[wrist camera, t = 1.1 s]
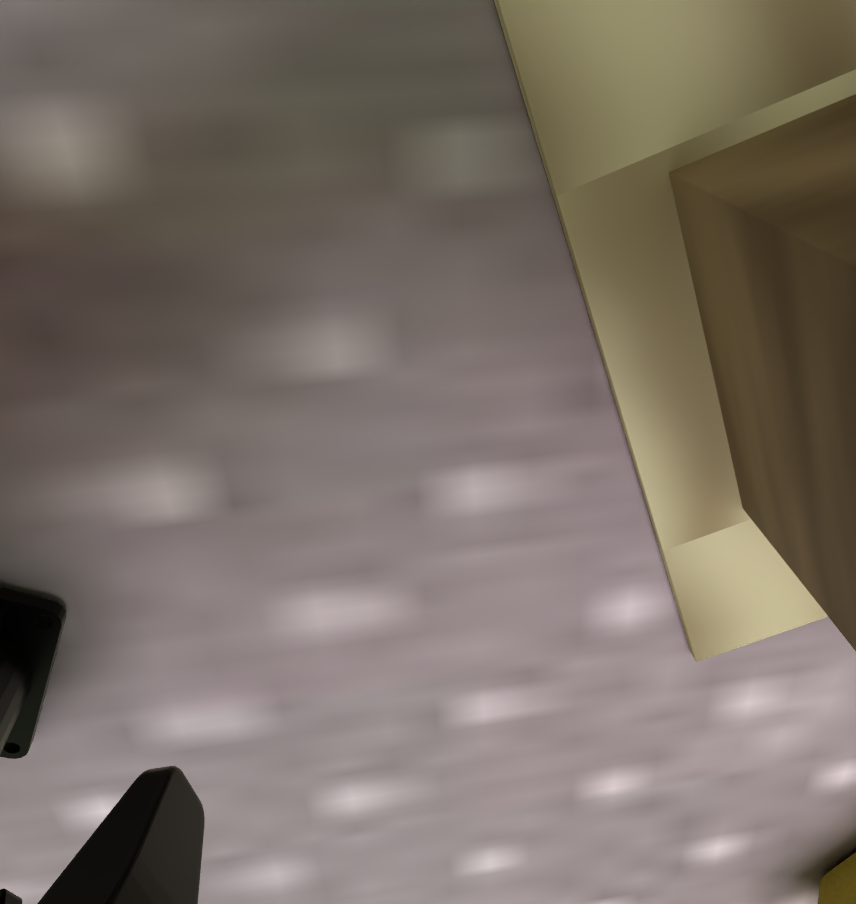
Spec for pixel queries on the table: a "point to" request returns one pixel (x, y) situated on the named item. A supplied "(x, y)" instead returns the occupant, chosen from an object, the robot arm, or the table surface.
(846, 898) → the flower pot
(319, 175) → the table surface
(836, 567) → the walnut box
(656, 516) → the board
